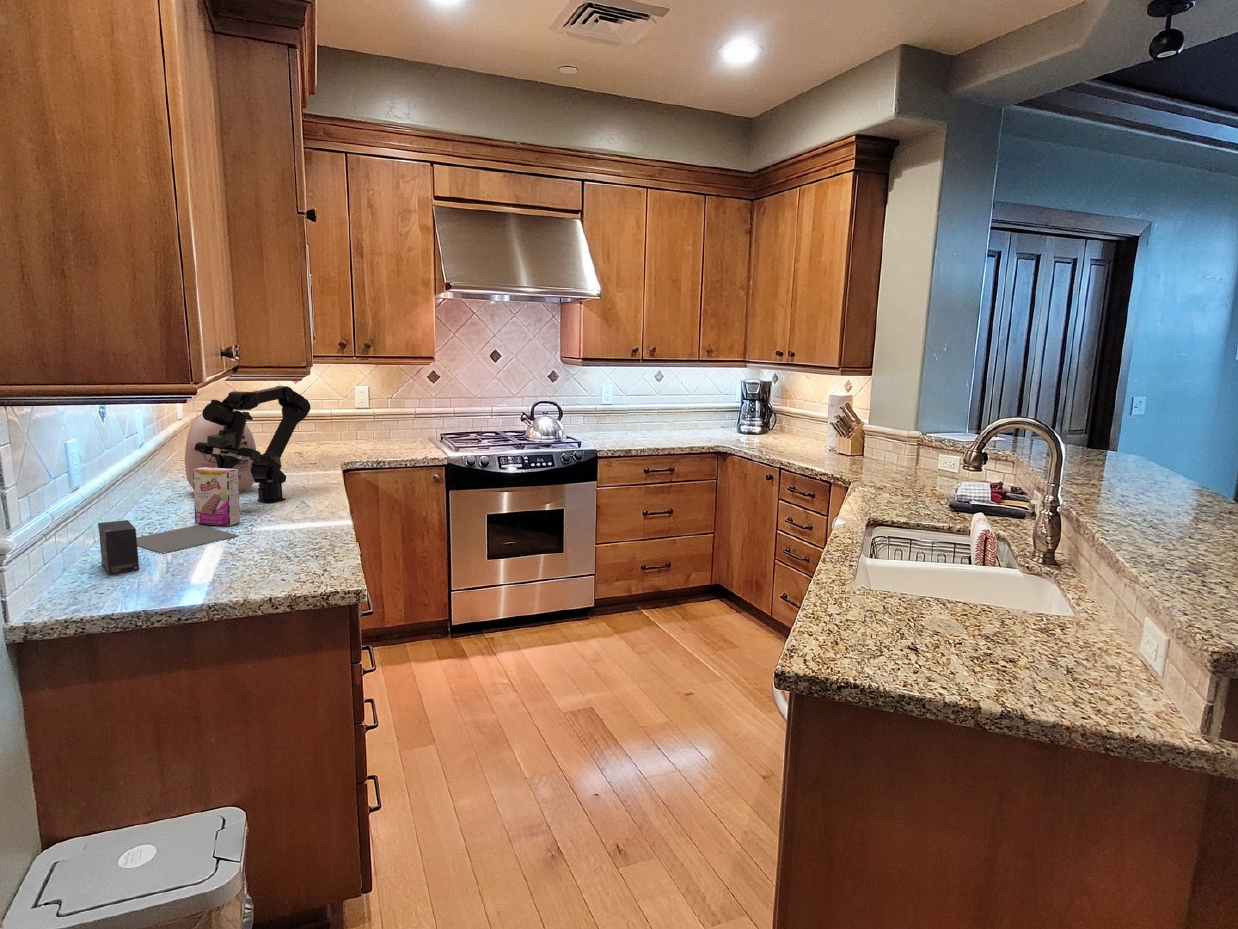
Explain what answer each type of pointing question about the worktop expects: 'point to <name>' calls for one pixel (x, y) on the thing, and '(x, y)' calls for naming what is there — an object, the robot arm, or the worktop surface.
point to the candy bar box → (216, 496)
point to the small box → (118, 546)
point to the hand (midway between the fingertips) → (221, 478)
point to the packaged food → (199, 460)
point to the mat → (182, 538)
